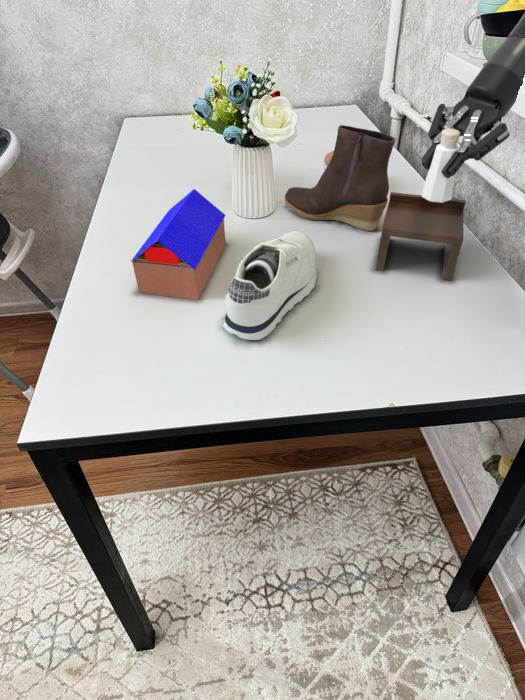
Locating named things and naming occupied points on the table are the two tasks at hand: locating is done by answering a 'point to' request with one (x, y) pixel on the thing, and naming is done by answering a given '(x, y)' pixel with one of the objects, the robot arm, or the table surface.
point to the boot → (349, 181)
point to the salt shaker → (436, 183)
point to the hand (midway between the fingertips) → (434, 170)
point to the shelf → (424, 226)
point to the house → (181, 249)
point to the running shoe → (269, 285)
